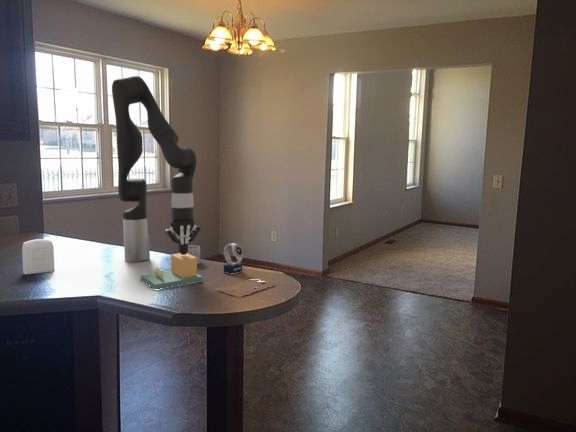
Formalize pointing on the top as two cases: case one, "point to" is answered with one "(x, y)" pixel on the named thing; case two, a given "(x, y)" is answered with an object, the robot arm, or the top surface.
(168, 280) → the header board
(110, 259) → the top surface
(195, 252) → the mug
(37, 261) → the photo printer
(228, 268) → the watch
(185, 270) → the block
